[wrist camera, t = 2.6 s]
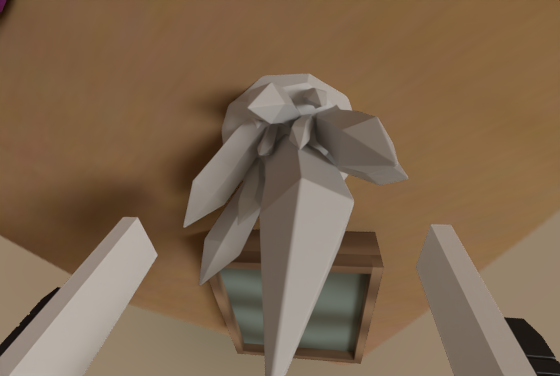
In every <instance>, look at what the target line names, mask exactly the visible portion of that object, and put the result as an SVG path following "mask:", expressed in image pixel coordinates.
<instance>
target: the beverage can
mask: <svg viewBox="0 0 560 376" xmlns="http://www.w3.org/2000/svg"><path fill="white" fill-rule="evenodd" d="M5 3H6V0H0V12H2V10H3V7H4V5H5Z"/></svg>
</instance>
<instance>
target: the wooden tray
mask: <svg viewBox="0 0 560 376" xmlns="http://www.w3.org/2000/svg"><path fill="white" fill-rule="evenodd" d="M201 263H202V259H201ZM383 269H384V266H383V262H382V258H381V254H380V250H379V246H378V242H377V238H376V234H375V232H345V233H344V236H343V239H342V242H341V245H340V247H339V250H338V252H337V254H336V257H335V259H334V262H333V264H332V266H331V269H330V271H329V273H328V276H327V278H326V280H325V283H324V285H323V288H322V290H321V292H320V295H319V297H318V299H317V302H316V304H315V307H314V309H313V311H312V314H311V316H310V318H309V321H308V323H307V325H306V328H305V330H304V333H303V335H302V337H301V340H300V342H299V344H298V347H297V349H296V352H295V354H294V356H293V358H298V359H311V360H323V361H334V362H346V363H359V364H360V363H361V361H362V356H363V352H364V348H365V344H366V340H367V336H368V332H369V327H370V323H371V319H372V315H373V311H374V307H375V303H376V298H377V294H378V290H379V286H380V282H381V278H382V274H383ZM208 281H209V283H210V286H211V288H212V291H213V293H214V296H215V298H216V301H217V303H218V306H219V308H220V311H221V313H222V316H223V318H224V321H225V323H226V326H227V328H228V331H229V333H230V336H231V338H232V341H233V343H234V345H235V348H236V351H237V353H239V354H251V355H263V356H265V353H264V326H263V300H262V273H261V247H260V230H251V232H250V234H249V236H248V238H247V241H246V243H245V245H244V247H243V249H242V251H241V253H240V255H239V256H238V257H237V258H235V259H234V260H233V261H231V262H230V263H229V264H228V265H226V266H225V267H224V268H223V269H221V270H220V271H219V272H217V273H216V274H215V275H214V276H212V277H211V278H210V279H208Z"/></svg>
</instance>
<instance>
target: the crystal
mask: <svg viewBox="0 0 560 376" xmlns="http://www.w3.org/2000/svg"><path fill="white" fill-rule="evenodd" d="M221 130H222V139H223V146H222V147H221V148H220V150H219V151H218V152H217V153H216V155H215V156H214V157H213V158H212V159H211V160H210V161H209V163H208V164H207V165H206V166H205V167H204V168H203V170H202V171H201V172H200V173H199V174H198V175H197V177H196V178H195V179H194V180H193V183H192V187H191V192H190V197H189V201H188V206H187V211H186V215H185V220H184V225H183V227H187V226H188V225H190V224H192V223H193V222H195V221H197V220H199V219H200V218H202V217H204V216H206V215H207V214H209V213H211V212H212V211H214V210H216V209H218V208H219V207H221V206H223V205H224V204H225V203H226V202H227V200H228V199H229V198H230V196H231V195H232V193H233V192H234V191H235V189H236V188H237V186H238V185H239V184H240V182H241V181H242V180H243V183H242V184H241V186H240V187H239V189H238V190H237V192H236V193H235V195H234V196H233V197H232V199H231V200H230V202H229V203H228V205H227V206H226V208H225V209H224V211H223V212H222V214H221V215H220V217H219V218H218V220H217V221H216V223H215V224H214V226H213V227H212V229H211V230H210V232H209V233H208V235H207V236H206V238H205V241H204V249H203V256H202V264H201V271H200V279H199V286H201V285H202V284H203V283H205V282H206V281H207V280H208V279H210V278H211V277H212V276H214V275H215V274H216V273H217V272H219V271H220V270H221V269H223V268H224V267H225V266H226V265H228V264H229V263H230V262H231V261H233V260H234V259H235V258H237V257H238V256H239V255H240V253H241V251H242V249H243V247H244V245H245V243H246V241H247V238H248V236H249V234H250V232H251V230H252V228H253V226H254V224H255V222H256V220H257V218H258V216H259V220H260V247H261V273H262V300H263V326H264V353H265V376H285V375H286V373H287V370H288V368H289V365H290V363H291V361H292V359H293V356H294V354H295V352H296V349H297V347H298V344H299V342H300V340H301V337H302V335H303V333H304V330H305V328H306V325H307V323H308V321H309V318H310V316H311V314H312V311H313V309H314V307H315V304H316V302H317V299H318V297H319V295H320V292H321V290H322V288H323V285H324V283H325V280H326V278H327V276H328V273H329V271H330V269H331V266H332V264H333V262H334V259H335V257H336V254H337V252H338V250H339V247H340V245H341V242H342V239H343V236H344V233H345V230H346V226H347V223H348V220H349V217H350V214H351V211H352V208H353V205H354V199H353V197H352V195H351V193H350V191H349V189H348V187H347V185H346V183H345V181H344V180H345V178H346V177H347V176H348V174H349V175H352V176H355V177H358V178H361V179H364V180H366V181H369V182H372V183H375V184H377V185H383V184H388V183H392V182H397V181H402V180H407V179H408V176H407V175H406V173H405V172H404V170H403V169H402V167H401V166H400V164H399V163H398V161H397V157H396V153H395V149H394V145H393V143H392V141H391V139H390V137H389V136H388V134H387V132H386V131H385V129H384V127H383V125H382V124H381V122H380V120H379V119H378V117H375V116H372V115H369V114H366V113H362V112H359V111H352V108H351V106H350V103H349V100H348V98H347V97H346V96H345V95H344V94H342V93H340V92H339V91H337V90H335V89H334V88H332V87H330V86H329V85H327V84H325V83H324V82H322V81H320V80H319V79H317V78H315V77H314V76H312V75H310V74H290V75H268V76H263V77H261V78H260V79H259V80H258V81H257V82H255V83H254V84H253V85H252V86H251V87H250V88H249V89H247V90H246V91H245V92H244V93H243V94H242V95H240V96H239V97H238V98H237V99H236V100H234V101H233V102H232V103H231V104H229V105H228V109H227V112H226V115H225V119H224V122H223V126H222V129H221Z"/></svg>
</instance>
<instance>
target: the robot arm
mask: <svg viewBox="0 0 560 376" xmlns="http://www.w3.org/2000/svg"><path fill="white" fill-rule="evenodd" d="M157 256H158V255H157V253H156V251H155V249H154V247H153V245H152V243H151V241H150V240H149V238H148V236H147V234H146V232H145V230H144V228H143V226H142V224H141V223H140V221H139V219H138V217H123V218H122V219H121V220H120V221H119V222H118V224H117V225H116V226H115V227H114V228H113V229H112V230H111V231H110V233H109V234H108V235H107V236H106V237H105V238H104V239H103V241H102V242H101V243H100V244H99V245H98V246H97V247H96V249H95V250H94V251H93V252H92V253H91V254H90V255H89V256H88V258H87V259H86V260H85V261H84V262H83V263H82V264H81V266H80V267H79V268H78V269H77V270H76V271H75V272H74V274H73V275H72V276H71V277H70V278H69V279H68V280H67V281H66V283H65V284H64V285H63V286H62V287H61V288H59V287H57V288H56V289H55V290H53V291H52V292H51V293H49V294H48V295H47V296H45V297H44V298H43V299H42V300H41V301H40V302H39V303H38V304H37V305H36V306H35V307H34V308H33V309H32V311H31V312H30V314H29V315H27V316H26V317H25V318H24V319H23V320H22V322H21V323H20V325H19V326H18V327H16V328H15V329H14V330H13V331H12V333H11V334H10V335H9V336H8V337H7V338H6V339H5V340H4V341H3V342H2V344H1V345H0V376H83V375H84V374H85V372H86V370H87V369H88V367H89V366H90V364H91V362H92V360H93V359H94V357H95V356H96V354H97V353H98V351H99V349H100V348H101V346H102V345H103V343H104V341H105V340H106V338H107V336H108V335H109V333H110V332H111V330H112V328H113V327H114V325H115V324H116V322H117V320H118V319H119V317H120V315H121V314H122V312H123V311H124V309H125V307H126V306H127V304H128V303H129V301H130V299H131V298H132V296H133V294H134V293H135V291H136V290H137V288H138V286H139V285H140V283H141V282H142V280H143V278H144V277H145V275H146V273H147V272H148V270H149V269H150V267H151V265H152V264H153V262H154V261H155V259H156V257H157ZM416 269H417V272H418V275H419V278H420V280H421V283H422V286H423V289H424V292H425V295H426V297H427V300H428V303H429V306H430V309H431V312H432V314H433V317H434V320H435V323H436V326H437V329H438V331H439V334H440V337H441V340H442V343H443V346H444V348H445V351H446V354H447V357H448V360H449V362H450V365H451V368H452V371H453V373H454V376H560V363H559V362H558V361H556V359H555V356H554V354H553V353H552V351H551V349H550V348H549V346H548V345H547V343H546V342H545V340H544V339H543V338H542V336H541V335H540V334H539V333H538V332H537V331H536V330H535V329H533V327H531V326H530V325H529V324H528V323H527V322H526V321H525V320H524V319H518V318H505V317H503V315H502V314H501V312H500V310H499V308H498V306H497V305H496V303H495V301H494V299H493V298H492V296H491V294H490V293H489V291H488V289H487V287H486V286H485V284H484V282H483V280H482V279H481V277H480V275H479V273H478V271H477V270H476V268H475V266H474V264H473V263H472V261H471V259H470V257H469V256H468V254H467V252H466V250H465V249H464V247H463V245H462V243H461V242H460V240H459V238H458V236H457V235H456V233H455V231H454V229H453V228H452V226H451V225H437V224H431V225H430V228H429V231H428V233H427V236H426V239H425V242H424V245H423V248H422V251H421V254H420V256H419V259H418V262H417V265H416Z"/></svg>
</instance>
